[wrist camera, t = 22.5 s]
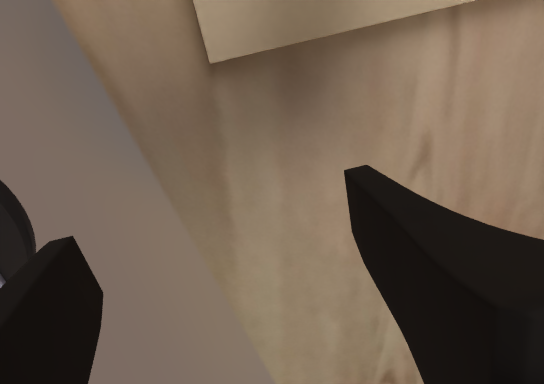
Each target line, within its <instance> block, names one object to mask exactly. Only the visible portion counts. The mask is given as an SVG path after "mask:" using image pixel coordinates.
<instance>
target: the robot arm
mask: <svg viewBox="0 0 544 384" xmlns="http://www.w3.org/2000/svg"><path fill="white" fill-rule="evenodd" d="M344 175H345V182H346V190H347V197H348V205H349V213H350V220H351V228H352V233H353V236H354V239H355V241H356V244H357V247H358V249H359V252H360V254H361V257H362V259H363V262H364V264H365V266H366V268H367V270H368V271H369V273H370V275H371V277H372V279H373V281H374V282H375V284H376V286H377V288H378V290H379V291H380V293H381V295H382V297H383V299H384V301H385V302H386V304H387V306H388V308H389V310H390V311H391V313H392V315H393V317H394V319H395V320H396V322H397V324H398V326H399V328H400V330H401V332H402V334H403V336H404V338H405V340H406V342H407V344H408V346H409V348H410V351H411V353H412V356H413V358H414V360H415V363H416V365H417V367H418V370H419V372H420V375H421V377H422V379H423V382H424V384H544V240H542V239H537V238H533V237H529V236H525V235H522V234H518V233H515V232H511V231H507V230H504V229H500V228H497V227H494V226H491V225H488V224H485V223H482V222H480V221H477V220H474V219H471V218H469V217H466V216H463V215H461V214H458V213H456V212H454V211H451V210H449V209H447V208H445V207H443V206H440V205H438V204H436V203H434V202H432V201H430V200H428V199H426V198H424V197H422V196H420V195H418V194H416V193H414V192H413V191H411V190H409V189H407V188H405V187H404V186H402V185H400V184H398V183H397V182H395V181H393V180H392V179H390V178H388V177H387V176H385V175H383V174H382V173H380V172H378V171H377V170H375V169H373V168H372V167H370V166H368V165H364V166H359V167H355V168H351V169H347V170H344ZM102 305H103V292H102V290H101V288H100V286H99V284H98V282H97V280H96V278H95V276H94V275H93V273H92V271H91V269H90V267H89V265H88V263H87V262H86V260H85V258H84V256H83V254H82V252H81V250H80V248H79V246H78V245H77V243H76V241H75V239H74V238H73V236H70V237H66V238H62V239H58V240H53V241H50V242H48V243H47V244H46V245H45V246H43V247H42V248H41V249H40V250H39V251H38V252H37V253H36V254H35V255H34V256H33V257H31V258H30V259H29V260H28V261H27V262H26V263H25V264H24V265H23V266H22V267H21V268H20V269H19V270H18V271H17V272H16V273H15V274H14V275H13V276H12V277H11V278H10V279H9V280H8V281H7V282H6V281H5V280H4V278H3V277H2V275H1V274H0V384H88V381H89V377H90V373H91V368H92V364H93V360H94V355H95V351H96V346H97V342H98V337H99V333H100V328H101V319H102Z"/></svg>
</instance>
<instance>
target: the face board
mask: <svg viewBox="0 0 544 384" xmlns="http://www.w3.org/2000/svg"><path fill="white" fill-rule="evenodd" d="M473 1H477V0H193V4H194V7H195V11H196V15H197V19H198V22H199V26H200V30H201V33H202V37H203V41H204V44H205V48H206V52H207V56H208V59H209V63H210V64H212V63H216V62H220V61H224V60H229V59H233V58H237V57H241V56H245V55H250V54H254V53H258V52H262V51H266V50H271V49H275V48H279V47H283V46H287V45H292V44H296V43H300V42H304V41H309V40H313V39H317V38H321V37H325V36H330V35H334V34H338V33H342V32H346V31H351V30H355V29H359V28H363V27H367V26H372V25H376V24H380V23H384V22H389V21H393V20H397V19H401V18H405V17H410V16H414V15H418V14H422V13H426V12H431V11H435V10H439V9H443V8H447V7H452V6H456V5H460V4H464V3H469V2H473Z"/></svg>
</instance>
